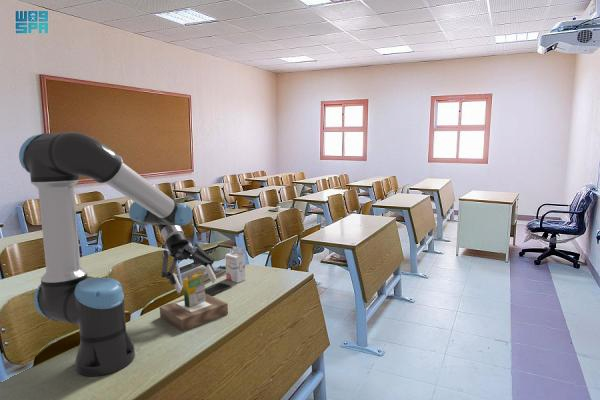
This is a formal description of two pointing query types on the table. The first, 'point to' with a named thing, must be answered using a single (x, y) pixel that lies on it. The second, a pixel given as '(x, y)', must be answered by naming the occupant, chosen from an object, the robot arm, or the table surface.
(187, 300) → the crayon box
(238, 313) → the table surface
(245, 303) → the table surface
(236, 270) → the ink cartridge box
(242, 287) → the table surface
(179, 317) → the brown wooden flat block
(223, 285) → the phone
